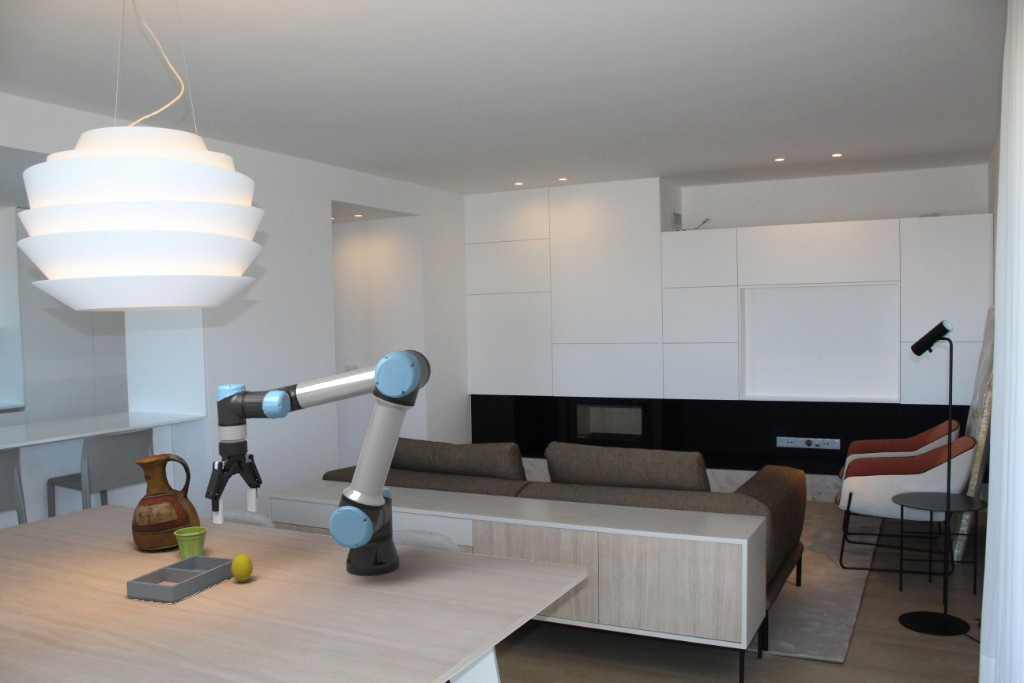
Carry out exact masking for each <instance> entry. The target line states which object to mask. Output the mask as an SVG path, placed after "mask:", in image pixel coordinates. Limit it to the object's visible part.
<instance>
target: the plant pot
mask: <svg viewBox="0 0 1024 683" xmlns="http://www.w3.org/2000/svg"><path fill="white" fill-rule="evenodd" d="M207 531H208V527H207V526H206V527H204V526H200V527H189V528H183V529H180V530H177V531H175V532H174V535H176V539H177V540H178V545H177V546H178V550H179V556H180V561H181V560H183V559H186V558H189V557H191V556H194V555H200V556H204V547H205V539H206V535H207Z"/></svg>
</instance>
